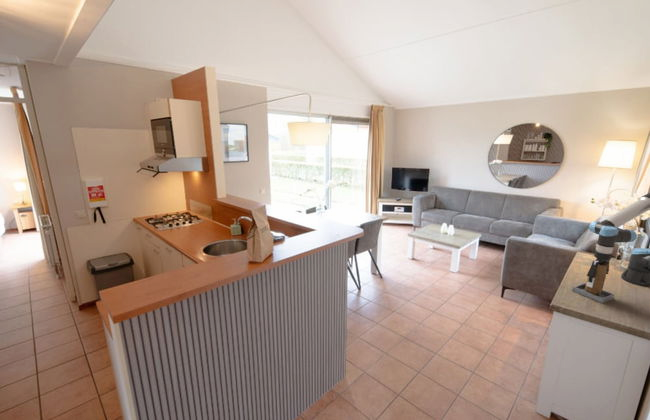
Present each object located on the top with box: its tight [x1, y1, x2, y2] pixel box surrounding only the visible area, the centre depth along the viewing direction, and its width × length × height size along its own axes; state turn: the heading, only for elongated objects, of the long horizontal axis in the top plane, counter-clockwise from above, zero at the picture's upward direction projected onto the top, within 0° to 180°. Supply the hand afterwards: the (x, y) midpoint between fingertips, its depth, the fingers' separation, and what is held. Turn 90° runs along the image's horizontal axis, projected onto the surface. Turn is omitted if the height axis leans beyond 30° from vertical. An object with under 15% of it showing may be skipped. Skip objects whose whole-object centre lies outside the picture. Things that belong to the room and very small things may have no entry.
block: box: [585, 263, 608, 295], centre depth 180 cm, size 11×8×20 cm
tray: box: [571, 282, 615, 304], centre depth 183 cm, size 13×16×3 cm
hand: (594, 284), depth 181 cm, fingers closed on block, 11 cm apart
